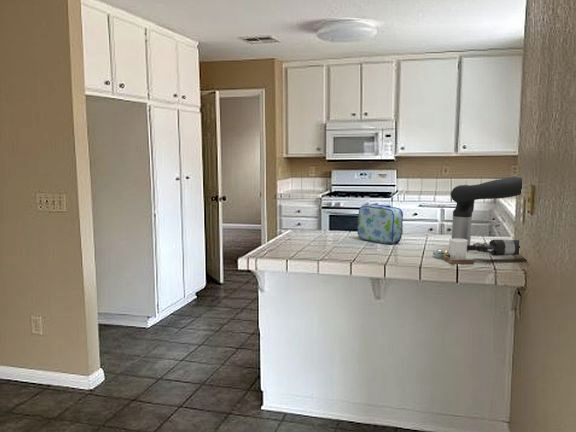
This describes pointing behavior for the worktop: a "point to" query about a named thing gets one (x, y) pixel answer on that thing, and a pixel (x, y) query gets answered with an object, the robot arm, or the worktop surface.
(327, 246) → the worktop surface
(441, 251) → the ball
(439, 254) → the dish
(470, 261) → the cradle
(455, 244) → the white cup
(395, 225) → the lunch box
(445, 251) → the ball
